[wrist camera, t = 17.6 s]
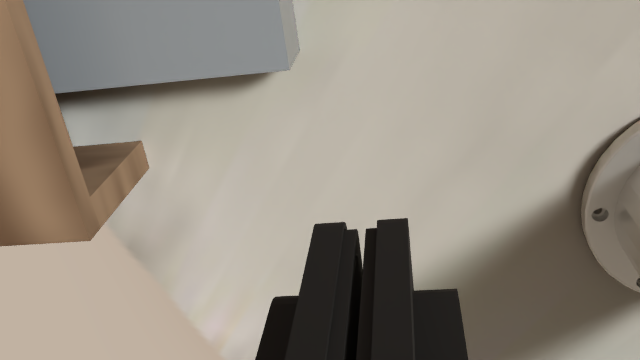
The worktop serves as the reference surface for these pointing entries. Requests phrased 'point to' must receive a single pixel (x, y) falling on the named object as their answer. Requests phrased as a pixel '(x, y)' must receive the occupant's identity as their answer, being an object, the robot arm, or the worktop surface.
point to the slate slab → (160, 40)
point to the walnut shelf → (50, 152)
